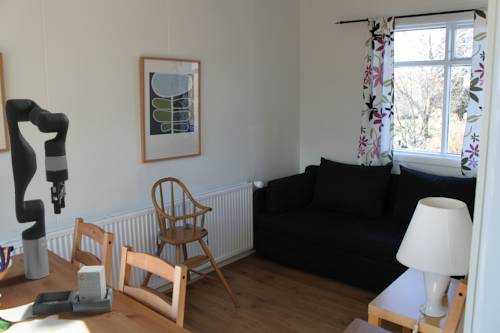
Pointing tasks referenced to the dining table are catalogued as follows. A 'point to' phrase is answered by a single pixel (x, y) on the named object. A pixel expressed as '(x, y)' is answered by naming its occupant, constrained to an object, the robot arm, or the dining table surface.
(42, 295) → the socket
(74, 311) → the frame
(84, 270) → the small box
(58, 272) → the dining table surface
